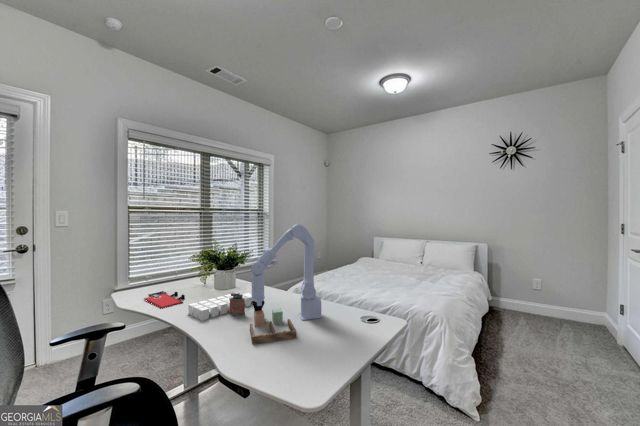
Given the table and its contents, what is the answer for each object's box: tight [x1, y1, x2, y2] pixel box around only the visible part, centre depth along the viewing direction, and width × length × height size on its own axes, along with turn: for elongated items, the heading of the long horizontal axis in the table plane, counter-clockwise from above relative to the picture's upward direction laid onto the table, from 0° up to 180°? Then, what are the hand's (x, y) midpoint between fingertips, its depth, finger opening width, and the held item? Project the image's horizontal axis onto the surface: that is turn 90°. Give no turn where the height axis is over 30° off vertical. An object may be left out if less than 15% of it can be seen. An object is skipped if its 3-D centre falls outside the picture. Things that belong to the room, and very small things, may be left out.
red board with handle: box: [143, 290, 186, 309], centre depth 158 cm, size 30×3×15 cm
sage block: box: [271, 308, 284, 325], centre depth 126 cm, size 4×4×5 cm
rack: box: [249, 318, 298, 345], centre depth 114 cm, size 17×13×3 cm
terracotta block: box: [253, 309, 265, 327], centre depth 125 cm, size 4×6×4 cm, turn 18°
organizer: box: [187, 292, 253, 321], centre depth 145 cm, size 13×5×35 cm
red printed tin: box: [228, 292, 246, 316], centre depth 136 cm, size 8×3×10 cm, turn 74°
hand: (258, 316), depth 130 cm, fingers closed
